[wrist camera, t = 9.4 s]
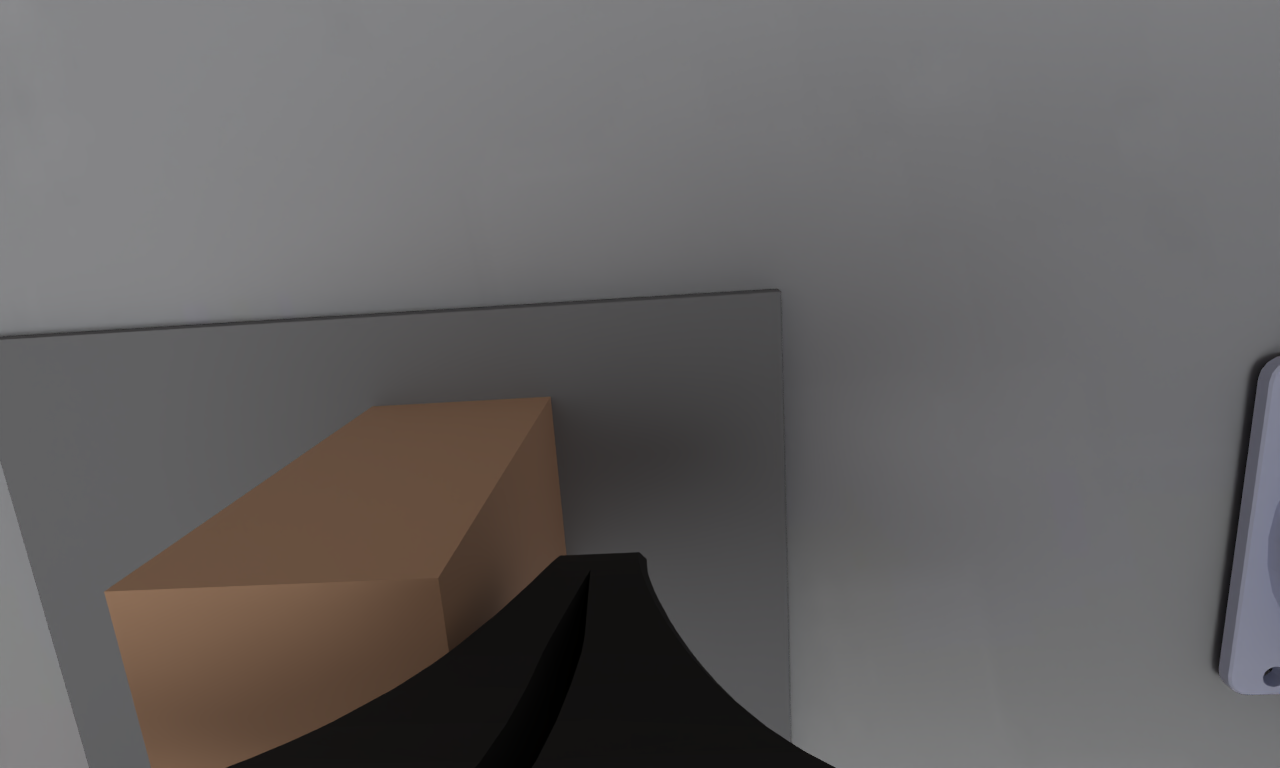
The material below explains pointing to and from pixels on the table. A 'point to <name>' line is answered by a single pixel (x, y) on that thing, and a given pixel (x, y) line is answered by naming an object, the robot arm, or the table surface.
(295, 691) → the block
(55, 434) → the mat
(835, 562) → the table surface
